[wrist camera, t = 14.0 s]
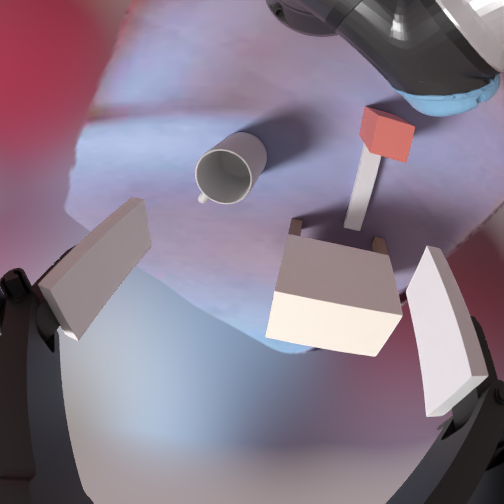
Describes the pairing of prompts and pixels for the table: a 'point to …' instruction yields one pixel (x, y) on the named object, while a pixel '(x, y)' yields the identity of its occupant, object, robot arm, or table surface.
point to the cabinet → (334, 295)
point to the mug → (230, 168)
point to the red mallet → (376, 157)
